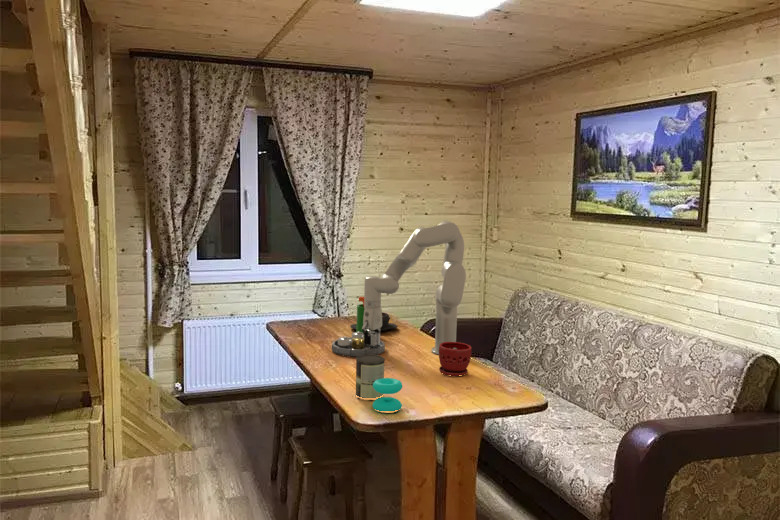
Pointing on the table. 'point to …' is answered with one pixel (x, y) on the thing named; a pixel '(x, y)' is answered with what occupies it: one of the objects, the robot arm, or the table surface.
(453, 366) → the plant pot
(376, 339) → the planet gear
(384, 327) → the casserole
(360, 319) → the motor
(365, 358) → the coffee can
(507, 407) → the table surface
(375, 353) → the carrier
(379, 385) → the donuts
